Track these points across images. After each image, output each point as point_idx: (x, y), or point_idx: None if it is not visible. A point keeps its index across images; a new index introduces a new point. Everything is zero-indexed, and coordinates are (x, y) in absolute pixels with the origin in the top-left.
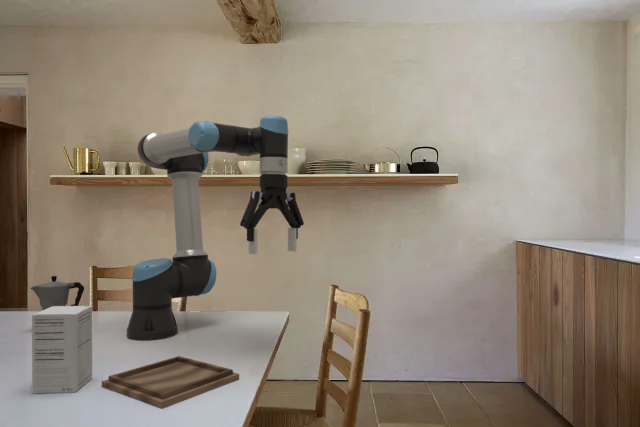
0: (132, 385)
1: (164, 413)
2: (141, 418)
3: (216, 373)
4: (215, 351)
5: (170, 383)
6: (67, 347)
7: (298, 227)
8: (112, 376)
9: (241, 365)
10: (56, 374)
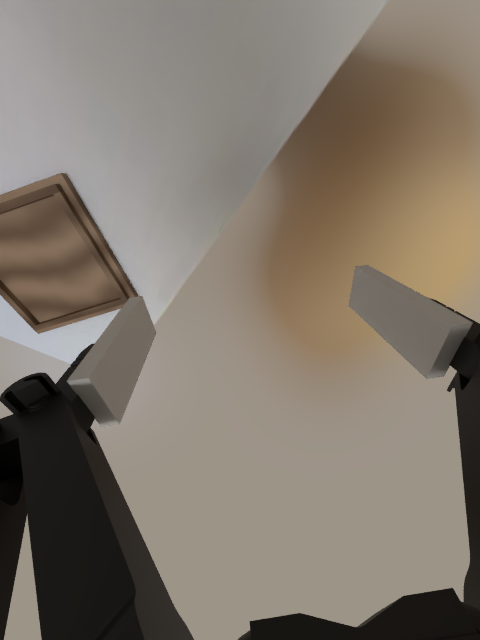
0: None
1: (46, 340)
2: (23, 340)
3: (111, 286)
4: (146, 136)
5: (46, 288)
6: None
7: (447, 389)
8: None
9: (161, 252)
10: None
